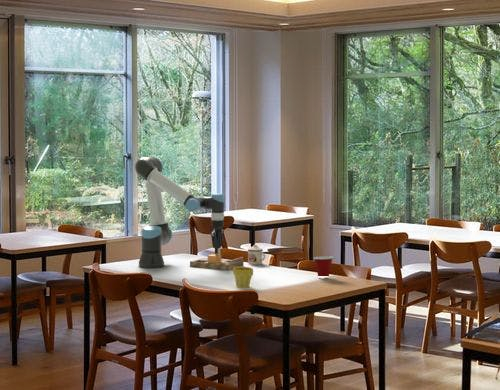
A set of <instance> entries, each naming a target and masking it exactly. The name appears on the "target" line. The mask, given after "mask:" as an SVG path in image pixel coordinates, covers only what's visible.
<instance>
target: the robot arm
mask: <svg viewBox="0 0 500 390" xmlns="http://www.w3.org/2000/svg"><path fill="white" fill-rule="evenodd" d="M163 167H164V166H163V163H162V160H161V159H160V158H158V157H155V156H147V157H145V156H144V157H141V158H139V159H138V160H136V162H135V165H134V170H135V172H136V174H137V175H138V176H139V177H140V178H141V179H142V181H143V182H144V183H145V188H146V195H147V201H148V209H149V216H150V223H149V225H148V226H144V227H142V229H141V233H140V234H141V254H140V258H139V261H138V267H140V268H144V269H157V268H163V267H165V261H164V258H163V254H162V246H165V245H168V244H169V243H170V242H171V241H172V238H173V231H172V229H171V228H170V226H169V221H167V220H166V217H165V209H164V204H163V203H164V202H163V196H162V191H164V192H165V193H167V194H168V195H169V196H171V198H173V199H175V200H177V201H178V202H179V203H180V204H182V205H184V207H186V209H187V211H189V212H198V211H201V210H211V213H210V215H211V218H210V219H211V220H210V224H211V227H212V231H211V232H210V236H211V243H212V248H213V249H214V254H215V255H221V249H222V246H223V241H224V234H225V230H223V227H224V226H225V221H224V219H225V196H224V194H223V193H212V194H211V195H210V196H200V195H198V196H195V195H192V194H191V193H190V192H189V191H187V190H186V189H184V188H183V187H182V186H180V185H179V184H177V183H176V182H174V181H173V180H172V179H170V178H168V177H167V176H165V174H163V173H162V172H163V169H164V168H163Z"/></svg>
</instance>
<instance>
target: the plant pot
mask: <svg viewBox="0 0 500 390" xmlns="http://www.w3.org/2000/svg"><path fill="white" fill-rule="evenodd" d="M232 271H233V273H232V274H233V275H234V279H235V285H236V287H237V288H240V289H241V288H242V289H247V288H246V287H248V288H250V284H251V280H252V276H253V275H254V268H253V267H249V266H248V267H247V266H243V267H235V268H234V269H232Z"/></svg>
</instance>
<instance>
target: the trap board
mask: <svg viewBox="0 0 500 390" xmlns="http://www.w3.org/2000/svg"><path fill="white" fill-rule="evenodd" d="M244 259H245V258H244V256H241V257H237V258H235V259H222V258H221V262H219V263H210V262H208V257H203V258H198V259H194V260H190V261H189V267H192V268H203V269H212V270H213V269H214V270H224V271H231V270H232V271H233V269H234V268H235V267H242V266H243V267H244Z"/></svg>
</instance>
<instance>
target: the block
mask: <svg viewBox="0 0 500 390" xmlns="http://www.w3.org/2000/svg"><path fill="white" fill-rule="evenodd" d="M207 258H208V262H210V263H219V262H221V259H222V254H220V255H215V253H214V254H213V253H211V254H209V255H207Z"/></svg>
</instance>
